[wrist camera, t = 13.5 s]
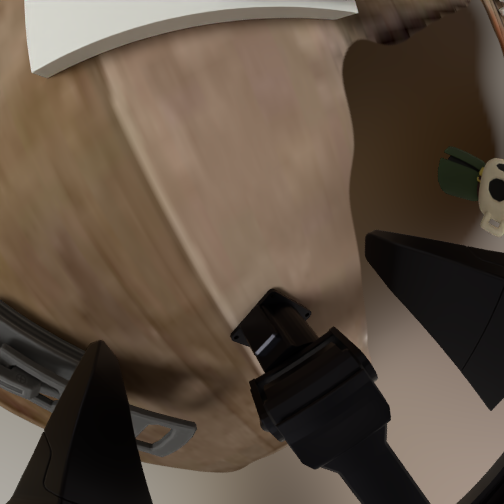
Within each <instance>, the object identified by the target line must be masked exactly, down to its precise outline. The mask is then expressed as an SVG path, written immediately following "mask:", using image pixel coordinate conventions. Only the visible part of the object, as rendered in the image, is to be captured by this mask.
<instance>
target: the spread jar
mask: <svg viewBox="0 0 504 504" xmlns="http://www.w3.org/2000/svg"><path fill="white" fill-rule="evenodd" d="M498 1H500V2H504V0H498ZM498 11H499V12H500V14H501V15H502V16H504V7H502V8H500V9H499V10H498Z"/></svg>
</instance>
